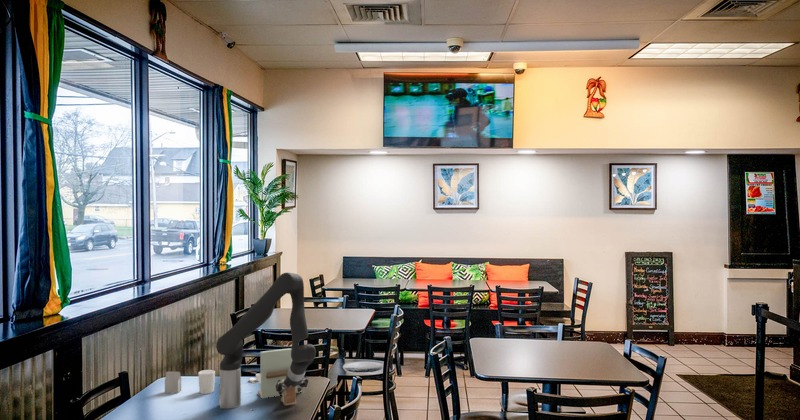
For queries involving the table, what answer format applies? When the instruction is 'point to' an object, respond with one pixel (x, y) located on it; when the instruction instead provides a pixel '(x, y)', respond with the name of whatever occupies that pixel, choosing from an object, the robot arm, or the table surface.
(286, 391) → the wall cabinet
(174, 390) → the grey brown rectangular block
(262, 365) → the wall board
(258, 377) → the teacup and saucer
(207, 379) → the white cup
